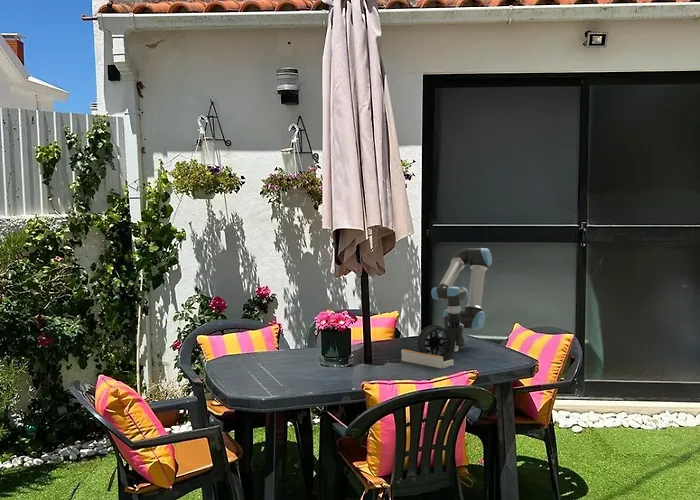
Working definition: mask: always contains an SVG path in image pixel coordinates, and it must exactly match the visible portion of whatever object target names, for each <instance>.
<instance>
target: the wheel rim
mask: <svg viewBox="0 0 700 500" xmlns="http://www.w3.org/2000/svg"><path fill="white" fill-rule="evenodd" d="M441 332H442V335H441V337H440V336H439V333H441ZM433 333H434V334H433ZM444 333H445V334H446V336H447V338H443V335H444ZM417 338H418V339H417V348H418V351H419V352H420V353H426V354H430V353H431V354H432V355H437V356H443V362H445V361H447V360H448V359H449V358H450V357H451V355H453V353H454V352H455V351H454V348H455V339H454V336H453V335H452V333H451V332H450V331H449V330H447V329H445V328H444V326H440V325H436V324H432V325H427V326H426V327H424V328H423V329H422V330H421V332H420V333H419V335H418V337H417ZM442 340H447V342H443V343H442ZM445 343H447V346H446V348H445V347H444V346H445V345H443V344H445ZM440 347H442V348H443V351H442V350H439V349H440ZM427 348H430V350H429V351H427ZM434 350H435V353H434ZM439 352H440V354H438V353H439Z"/></svg>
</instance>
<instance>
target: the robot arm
mask: <svg viewBox="0 0 700 500" xmlns="http://www.w3.org/2000/svg"><path fill="white" fill-rule="evenodd" d="M492 263H493V256H492V252H491V251H490V249H489V248H484V247H480V248H479V247H474V248H473V247H468V248H463V249H461V250H459V251H458V252H456V254H455V255H454V256H453V257H452V259H451V260H450V265H449V266H448V268H447V271H446V272H445V274H444V276H443V278H442V279H441V281H440V283H439V285H438V286H436V287H433V288H432V289H431V293H430V295H431V298H432V299H433V300H445V301H447V309H444V310H443V312H442V313H443V316H442V318H443V328H445V329H447V330H449V331H450V332H451V333H452V335H453V336H454V339H455V348H454V351H453V352H458V351H459V347H461V346H464V345H466V340H465V337H464V333H463V331H464V330H475V331H476V330H481V329H482V328H483V327H484V326H485V322H486V313H485V312H484V311H483V310H484V309H483V307H482V300H483V292H484V291H483V290H484V284H485V283H484V282H485V276H486V275H485V274H486V271H488V269H489V267H490V266H492ZM467 266H469V268H470V269H471V274H470V279H469V280H470V281H469V289H468V288H466V287H464V286H453V285H454V283H455V281H456V280H457V278H458V276H459V274H460V273H461V270H464V268H465V267H467ZM466 298H468V299H467V305H466V306H464V310H462V307H461V301H463V300H464V301H465V300H466ZM442 335H443V334H442ZM442 338H447V336H446V334H445V333H444V335H443V337H442ZM441 342H442V343H443V342H447V340H441ZM443 346H446V347H447V343H445V344H443Z"/></svg>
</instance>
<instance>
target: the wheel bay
mask: <svg viewBox="0 0 700 500" xmlns="http://www.w3.org/2000/svg"><path fill="white" fill-rule="evenodd" d="M400 351H401V361H403V362H407V363H411V364H417V365H421V366H426V367H427V366H428V367H433V368H437V369H446V368H449V367H452V366H454V365H455V364H454V363H455V360H454V359H449V360H448V359H447V360H444V361H443V356H438V354H437V355H435V354H433V355H432V353H431V354H430V353H428V354H426V353H421V352H420V351H414V350H409V349H401V350H400Z"/></svg>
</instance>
